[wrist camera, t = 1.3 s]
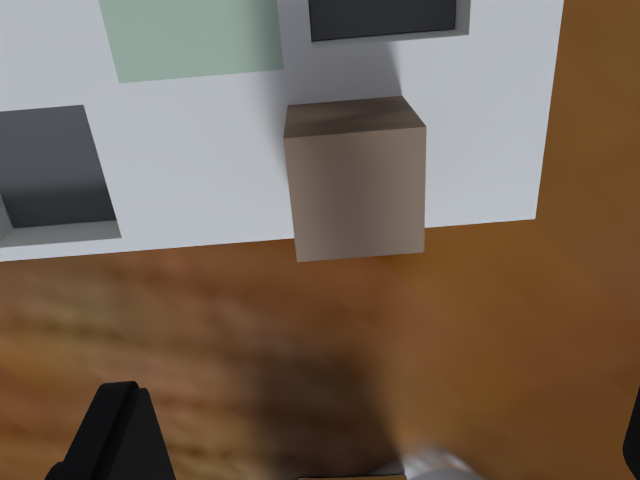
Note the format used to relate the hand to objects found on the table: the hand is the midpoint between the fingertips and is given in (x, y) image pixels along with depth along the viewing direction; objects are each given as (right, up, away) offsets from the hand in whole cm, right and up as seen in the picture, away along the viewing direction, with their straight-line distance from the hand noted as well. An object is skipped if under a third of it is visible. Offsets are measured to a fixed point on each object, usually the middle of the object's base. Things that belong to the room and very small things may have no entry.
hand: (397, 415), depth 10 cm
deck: (-6, +12, +14) cm, 19 cm away
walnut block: (0, +7, +14) cm, 16 cm away
